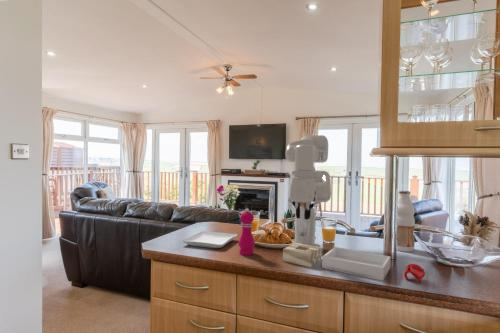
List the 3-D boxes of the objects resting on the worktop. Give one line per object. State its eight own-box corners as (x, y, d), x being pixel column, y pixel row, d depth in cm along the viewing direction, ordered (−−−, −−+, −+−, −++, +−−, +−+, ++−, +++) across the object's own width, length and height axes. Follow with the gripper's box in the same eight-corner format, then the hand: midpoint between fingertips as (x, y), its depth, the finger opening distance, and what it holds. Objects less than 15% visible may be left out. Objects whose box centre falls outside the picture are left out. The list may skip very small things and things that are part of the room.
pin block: (295, 254, 135) (295, 242, 134) (321, 259, 128) (321, 247, 128) (282, 261, 124) (283, 249, 124) (310, 267, 118) (310, 254, 118)
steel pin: (299, 233, 130) (300, 198, 129) (310, 235, 127) (311, 199, 127) (295, 235, 126) (295, 199, 125) (305, 237, 123) (306, 200, 123)
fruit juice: (396, 251, 141) (398, 191, 140) (389, 246, 150) (390, 189, 150) (417, 252, 140) (419, 192, 140) (409, 247, 149) (410, 190, 149)
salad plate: (181, 246, 144) (181, 239, 144) (201, 236, 164) (201, 230, 164) (222, 251, 137) (222, 244, 137) (238, 240, 158) (238, 234, 158)
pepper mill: (252, 256, 130) (253, 210, 130) (236, 255, 132) (237, 209, 131) (255, 251, 137) (256, 207, 137) (240, 250, 139) (241, 206, 138)
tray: (334, 257, 131) (335, 246, 131) (390, 267, 119) (390, 256, 119) (322, 267, 117) (322, 256, 117) (383, 280, 105) (383, 267, 105)
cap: (423, 277, 101) (429, 265, 104) (405, 267, 104) (411, 256, 107) (417, 290, 105) (423, 277, 109) (400, 280, 109) (406, 269, 112)
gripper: (282, 174, 127) (281, 217, 128) (319, 175, 118) (318, 222, 119) (289, 173, 133) (289, 215, 134) (326, 175, 124) (325, 219, 125)
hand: (303, 218), depth 126 cm, fingers closed on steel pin, 3 cm apart
